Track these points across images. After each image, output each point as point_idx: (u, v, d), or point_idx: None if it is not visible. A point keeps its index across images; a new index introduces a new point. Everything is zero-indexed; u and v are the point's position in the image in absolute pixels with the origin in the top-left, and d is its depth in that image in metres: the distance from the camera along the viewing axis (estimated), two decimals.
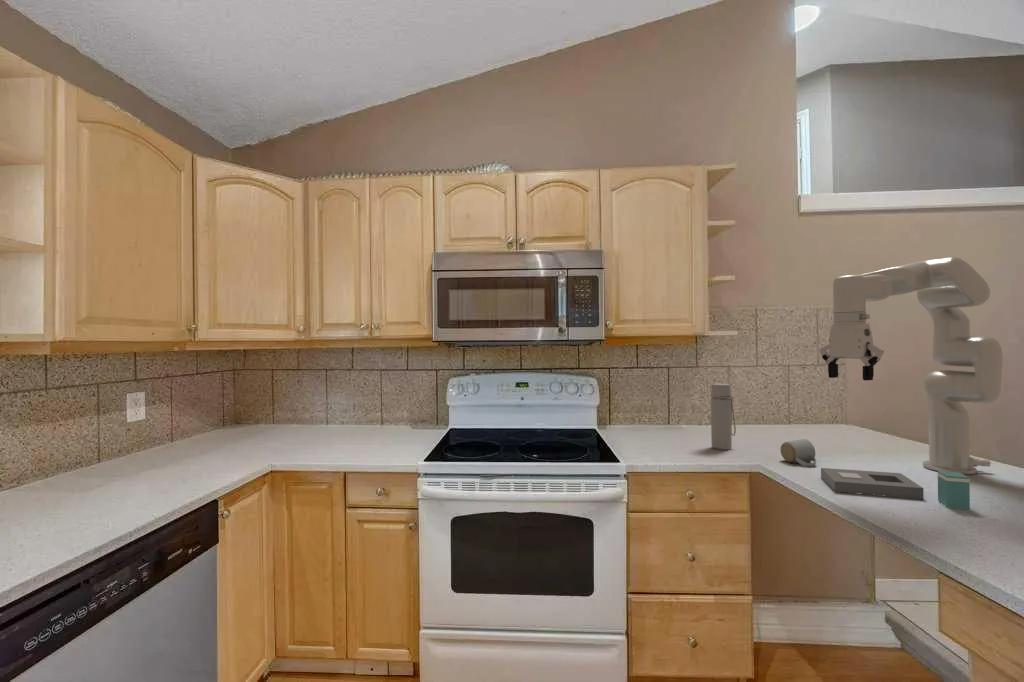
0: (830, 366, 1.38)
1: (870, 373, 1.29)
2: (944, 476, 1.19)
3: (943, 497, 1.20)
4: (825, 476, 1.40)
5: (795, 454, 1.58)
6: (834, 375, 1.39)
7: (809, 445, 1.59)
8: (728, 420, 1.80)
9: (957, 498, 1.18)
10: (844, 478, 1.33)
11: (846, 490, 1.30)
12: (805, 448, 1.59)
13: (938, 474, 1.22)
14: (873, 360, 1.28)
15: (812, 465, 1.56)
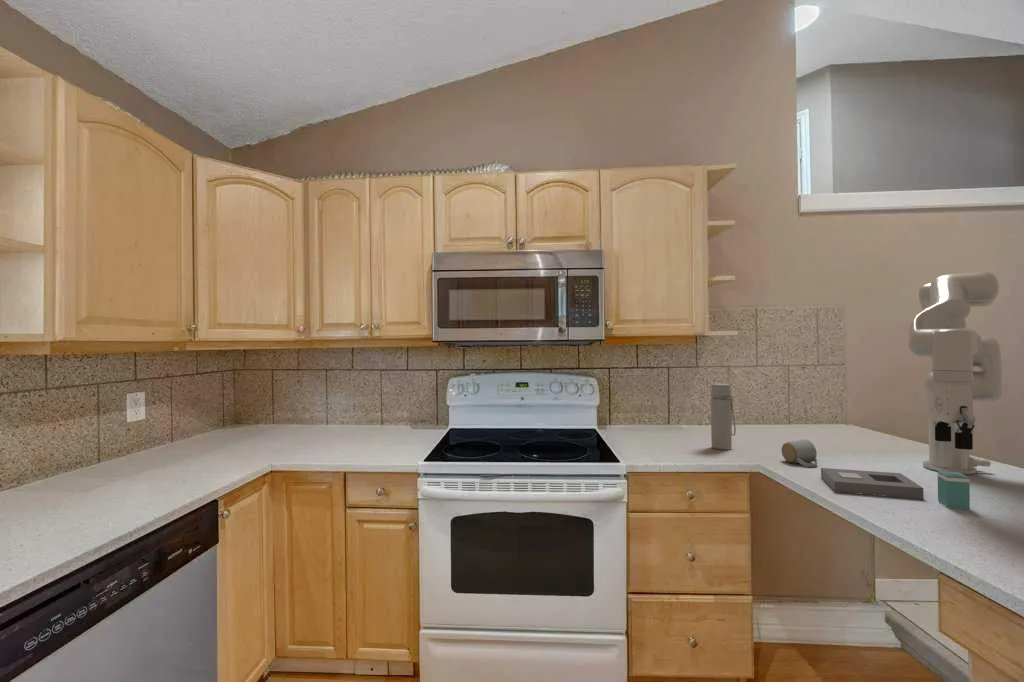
0: None
1: None
2: (944, 476, 1.19)
3: (943, 497, 1.20)
4: (825, 476, 1.40)
5: (796, 454, 1.58)
6: None
7: (810, 446, 1.59)
8: (728, 420, 1.80)
9: (957, 498, 1.18)
10: (844, 478, 1.33)
11: (846, 490, 1.30)
12: (806, 448, 1.58)
13: (938, 474, 1.22)
14: None
15: (813, 465, 1.55)
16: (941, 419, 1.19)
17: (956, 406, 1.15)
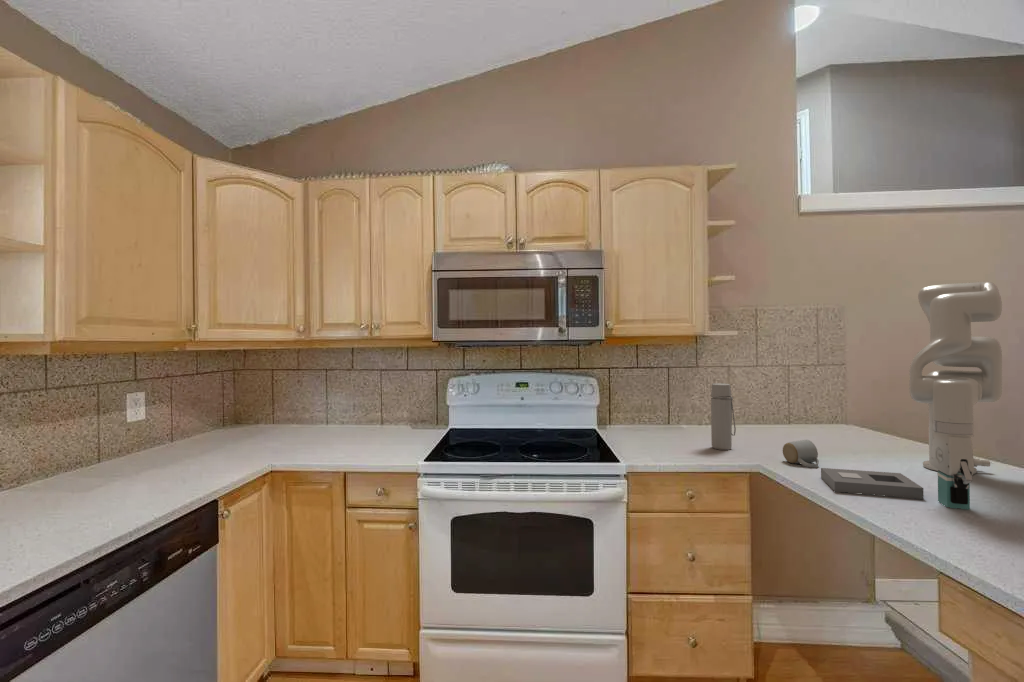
0: None
1: None
2: (944, 476, 1.19)
3: (943, 497, 1.20)
4: (825, 476, 1.40)
5: (797, 455, 1.57)
6: None
7: (811, 446, 1.58)
8: (728, 420, 1.80)
9: None
10: (844, 478, 1.33)
11: (846, 490, 1.30)
12: (807, 449, 1.58)
13: (938, 474, 1.22)
14: None
15: (814, 466, 1.55)
16: (942, 470, 1.19)
17: (956, 459, 1.15)
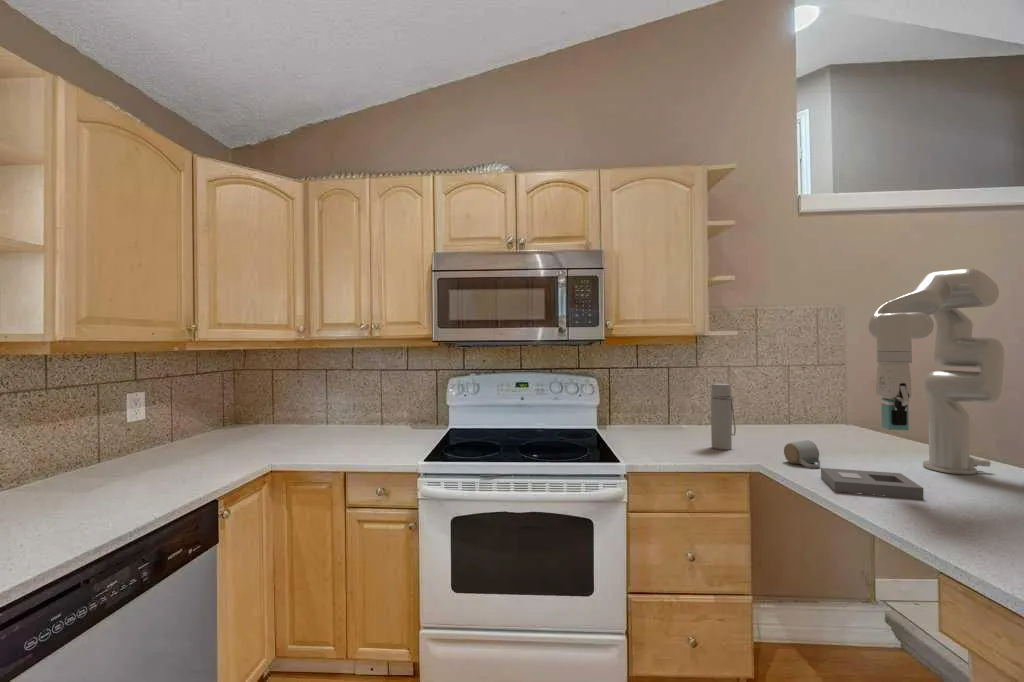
0: None
1: None
2: (886, 401, 1.30)
3: (885, 421, 1.31)
4: (825, 476, 1.40)
5: (798, 455, 1.57)
6: None
7: (813, 447, 1.58)
8: (728, 420, 1.80)
9: None
10: (844, 478, 1.33)
11: (846, 490, 1.30)
12: (809, 449, 1.57)
13: (881, 401, 1.33)
14: None
15: (816, 466, 1.54)
16: (884, 396, 1.30)
17: (896, 383, 1.26)
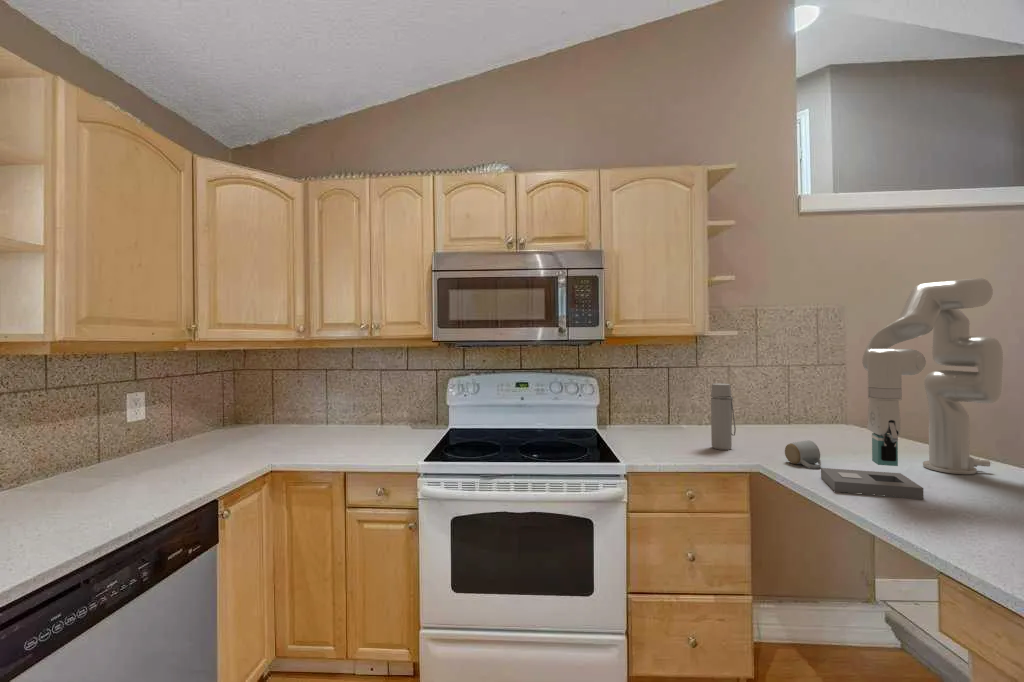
0: None
1: None
2: (876, 437, 1.32)
3: (875, 456, 1.33)
4: (825, 476, 1.40)
5: (799, 456, 1.56)
6: None
7: (814, 447, 1.57)
8: (728, 420, 1.80)
9: None
10: (844, 478, 1.33)
11: (846, 490, 1.30)
12: (810, 450, 1.57)
13: (872, 436, 1.35)
14: None
15: (817, 467, 1.53)
16: (874, 431, 1.32)
17: (885, 420, 1.28)
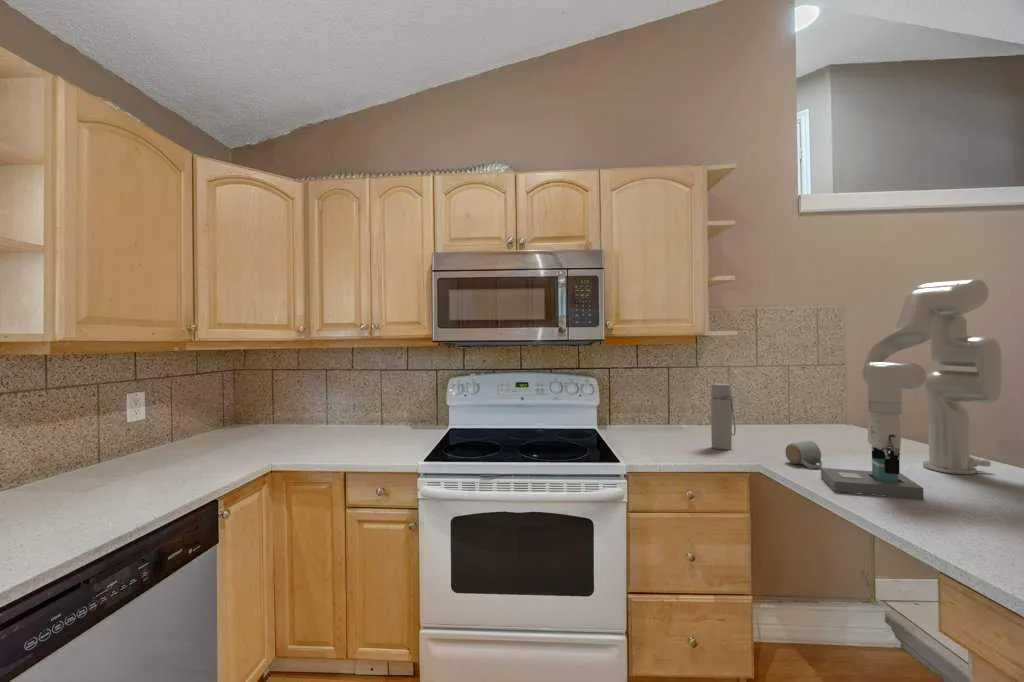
0: None
1: None
2: (876, 462, 1.32)
3: None
4: (825, 476, 1.40)
5: (800, 456, 1.56)
6: None
7: (814, 447, 1.57)
8: (728, 420, 1.80)
9: None
10: (844, 478, 1.33)
11: (846, 490, 1.30)
12: (811, 450, 1.56)
13: (872, 461, 1.35)
14: None
15: (818, 467, 1.53)
16: (874, 445, 1.32)
17: (886, 435, 1.28)
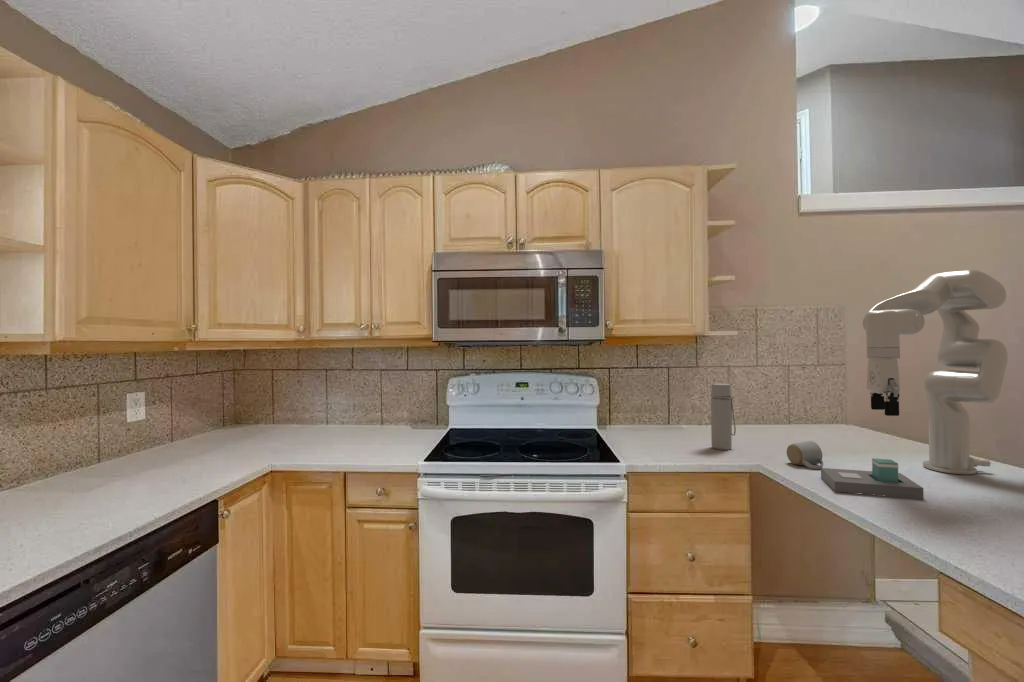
0: None
1: None
2: (877, 462, 1.32)
3: None
4: (825, 476, 1.40)
5: (801, 456, 1.55)
6: None
7: (816, 448, 1.56)
8: (728, 420, 1.80)
9: None
10: (844, 478, 1.33)
11: (846, 490, 1.30)
12: (812, 450, 1.56)
13: (872, 461, 1.35)
14: None
15: (819, 468, 1.52)
16: (874, 390, 1.36)
17: (885, 378, 1.32)
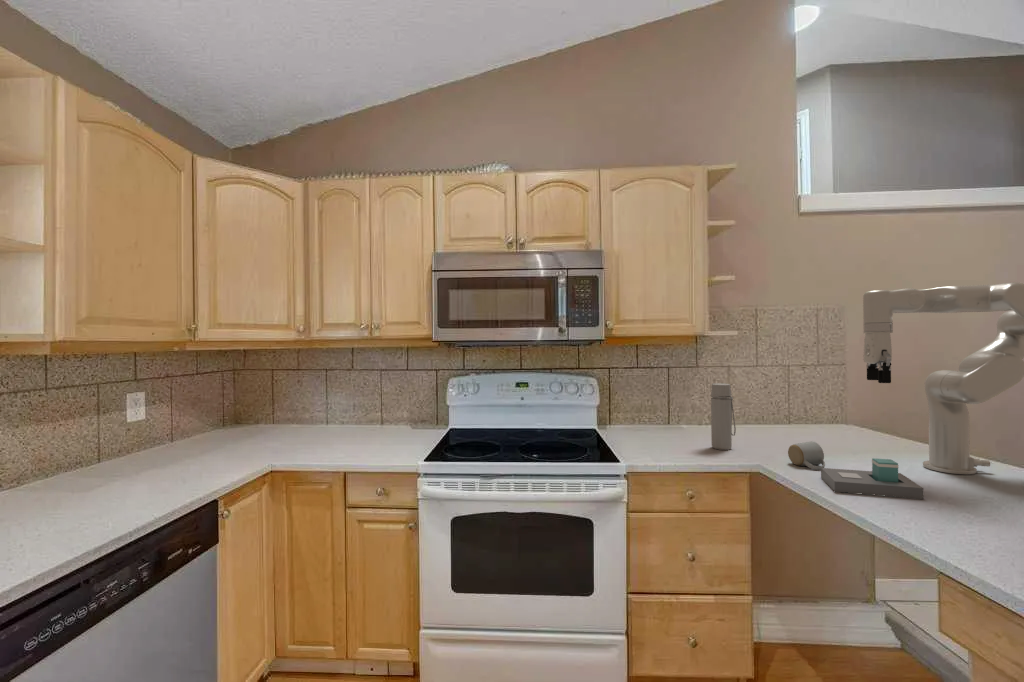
0: None
1: None
2: (877, 462, 1.32)
3: None
4: (825, 476, 1.40)
5: (803, 457, 1.54)
6: None
7: (817, 448, 1.56)
8: (728, 420, 1.80)
9: None
10: (844, 478, 1.33)
11: (846, 490, 1.30)
12: (813, 451, 1.55)
13: (872, 461, 1.35)
14: None
15: None
16: (869, 361, 1.52)
17: (879, 350, 1.48)
